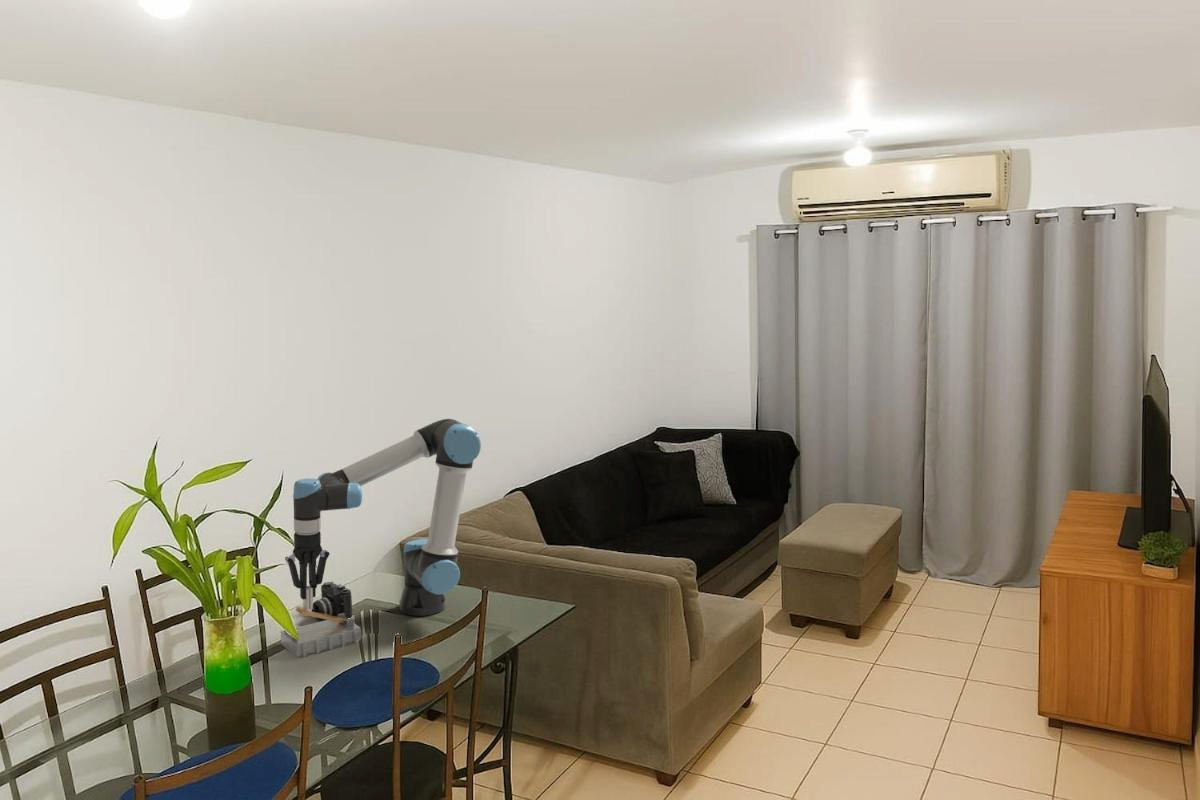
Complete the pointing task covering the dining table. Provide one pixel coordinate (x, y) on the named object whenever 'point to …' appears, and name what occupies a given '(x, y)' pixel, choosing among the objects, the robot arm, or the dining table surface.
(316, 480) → the robot arm
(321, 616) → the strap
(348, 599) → the camera
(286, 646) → the heatsink
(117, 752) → the dining table surface
